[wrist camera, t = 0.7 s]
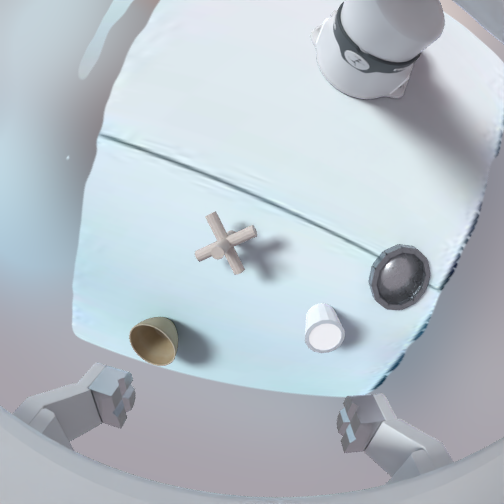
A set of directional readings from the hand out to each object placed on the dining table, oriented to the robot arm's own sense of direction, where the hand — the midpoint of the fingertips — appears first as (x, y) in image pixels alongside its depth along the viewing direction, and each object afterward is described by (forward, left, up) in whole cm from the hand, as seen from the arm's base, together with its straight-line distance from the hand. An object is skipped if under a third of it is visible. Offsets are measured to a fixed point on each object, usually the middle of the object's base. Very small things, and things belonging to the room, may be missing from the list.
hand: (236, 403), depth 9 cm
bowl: (-5, +25, -38) cm, 45 cm away
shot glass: (+10, +18, -38) cm, 43 cm away
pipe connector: (+7, -4, -38) cm, 39 cm away
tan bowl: (+32, -5, -38) cm, 50 cm away
